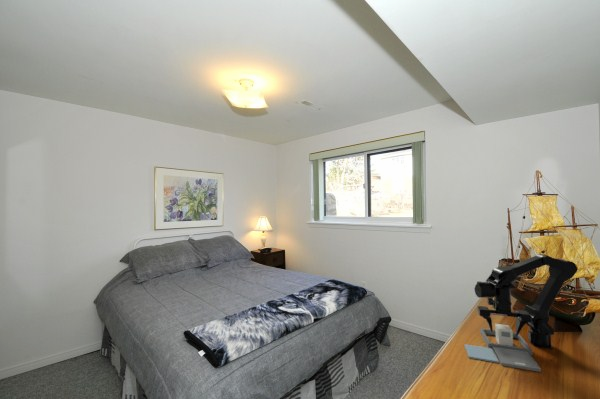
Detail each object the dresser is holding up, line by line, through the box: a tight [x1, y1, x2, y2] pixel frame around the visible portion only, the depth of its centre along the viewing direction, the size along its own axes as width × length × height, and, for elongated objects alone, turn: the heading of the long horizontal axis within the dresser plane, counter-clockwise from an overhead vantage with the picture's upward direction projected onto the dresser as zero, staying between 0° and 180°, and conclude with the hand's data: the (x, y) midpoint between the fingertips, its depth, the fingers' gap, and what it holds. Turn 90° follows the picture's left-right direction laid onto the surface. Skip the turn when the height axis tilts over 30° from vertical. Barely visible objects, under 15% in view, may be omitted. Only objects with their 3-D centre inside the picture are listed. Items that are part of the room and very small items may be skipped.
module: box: [494, 323, 514, 346], centre depth 118 cm, size 5×5×7 cm
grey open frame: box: [479, 327, 542, 373], centre depth 113 cm, size 15×27×2 cm, turn 157°
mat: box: [463, 343, 500, 364], centre depth 110 cm, size 10×10×1 cm
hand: (504, 333), depth 118 cm, fingers open, 9 cm apart
